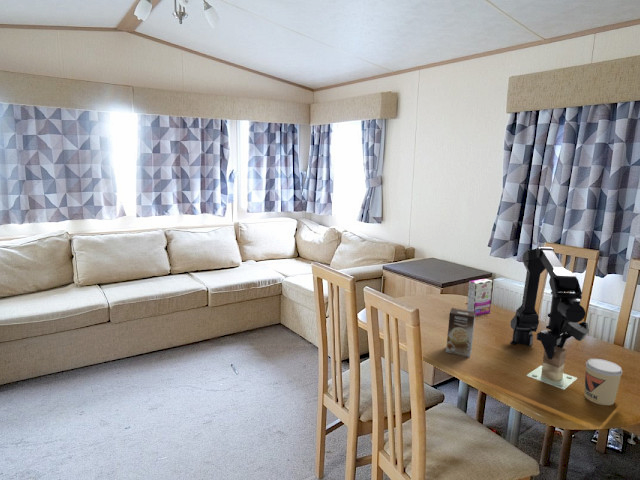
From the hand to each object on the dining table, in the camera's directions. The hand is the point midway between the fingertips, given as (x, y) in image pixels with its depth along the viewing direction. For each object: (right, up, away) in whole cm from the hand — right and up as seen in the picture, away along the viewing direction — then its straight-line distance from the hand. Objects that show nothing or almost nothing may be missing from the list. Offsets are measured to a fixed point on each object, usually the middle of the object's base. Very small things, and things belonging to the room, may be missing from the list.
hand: (554, 356), depth 146 cm
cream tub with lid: (+7, -11, -11) cm, 18 cm away
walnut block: (0, -2, 0) cm, 2 cm away
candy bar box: (-2, +3, +66) cm, 66 cm away
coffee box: (-25, -4, +22) cm, 34 cm away
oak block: (0, -7, +1) cm, 8 cm away
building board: (0, -8, +1) cm, 8 cm away
